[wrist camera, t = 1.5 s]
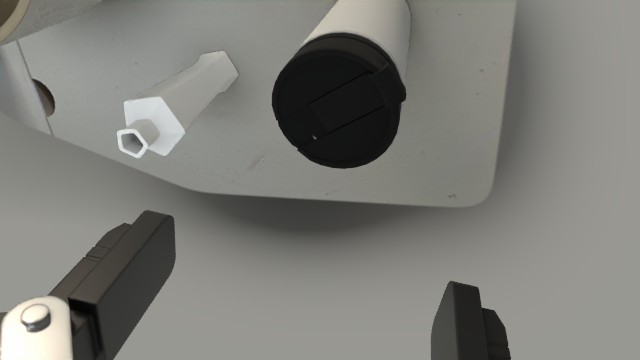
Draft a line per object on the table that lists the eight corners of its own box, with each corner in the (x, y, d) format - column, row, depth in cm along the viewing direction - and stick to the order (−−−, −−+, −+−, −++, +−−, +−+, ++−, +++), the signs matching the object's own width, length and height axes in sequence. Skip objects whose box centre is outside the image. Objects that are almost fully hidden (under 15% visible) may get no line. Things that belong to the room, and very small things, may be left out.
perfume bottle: (242, 98, 44) (168, 180, 31) (197, 90, 44) (107, 167, 32) (243, 50, 42) (163, 117, 29) (196, 42, 42) (97, 105, 29)
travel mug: (429, 32, 38) (432, 141, 21) (358, 71, 41) (312, 195, 24) (391, -40, 36) (362, 17, 19) (320, 6, 38) (238, 92, 22)
